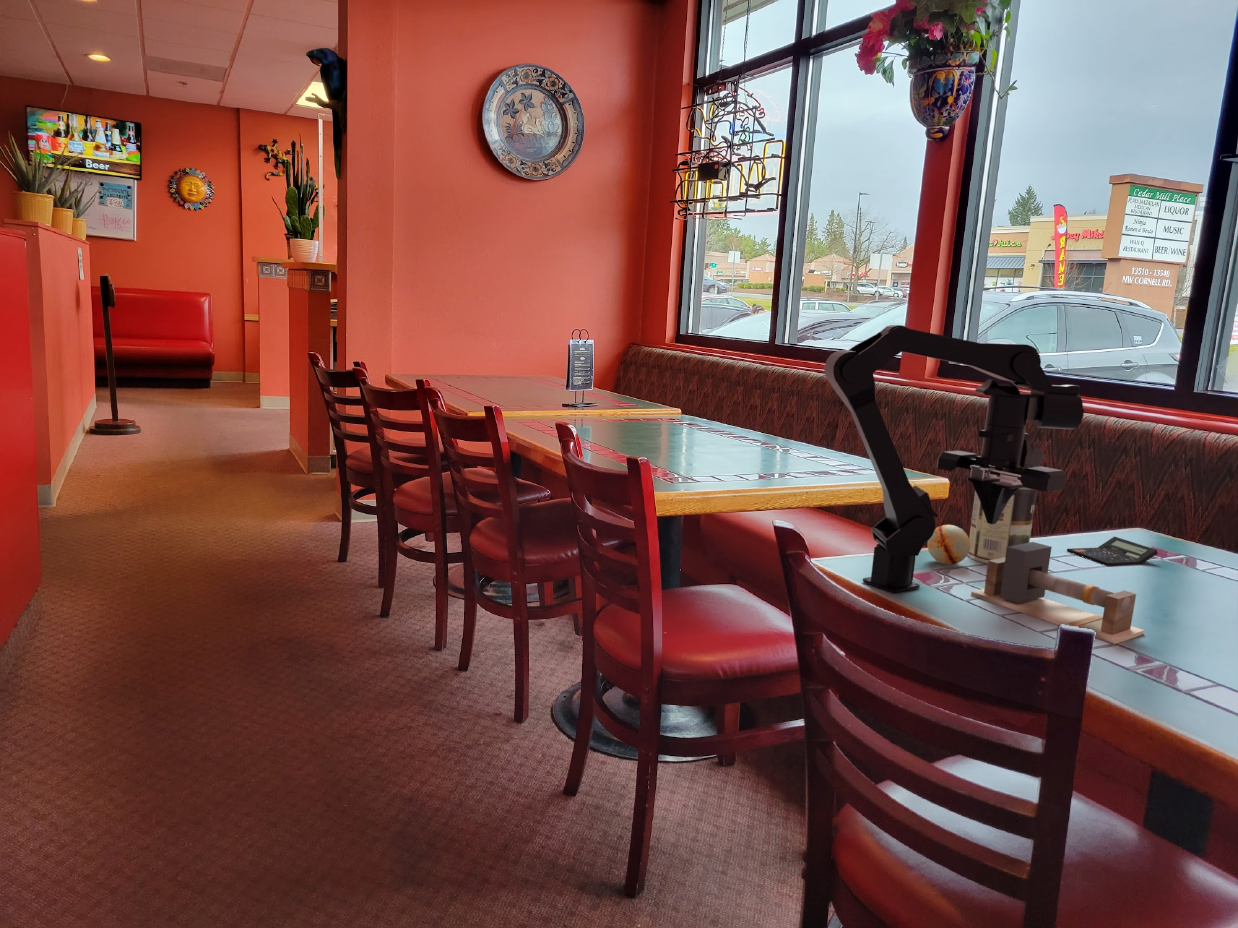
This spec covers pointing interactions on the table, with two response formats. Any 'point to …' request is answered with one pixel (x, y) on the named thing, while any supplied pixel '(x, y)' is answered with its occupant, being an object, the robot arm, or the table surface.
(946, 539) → the ball
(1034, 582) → the pipe stand
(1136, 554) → the calculator
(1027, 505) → the coffee can
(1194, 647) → the table surface
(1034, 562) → the grey sliding block
